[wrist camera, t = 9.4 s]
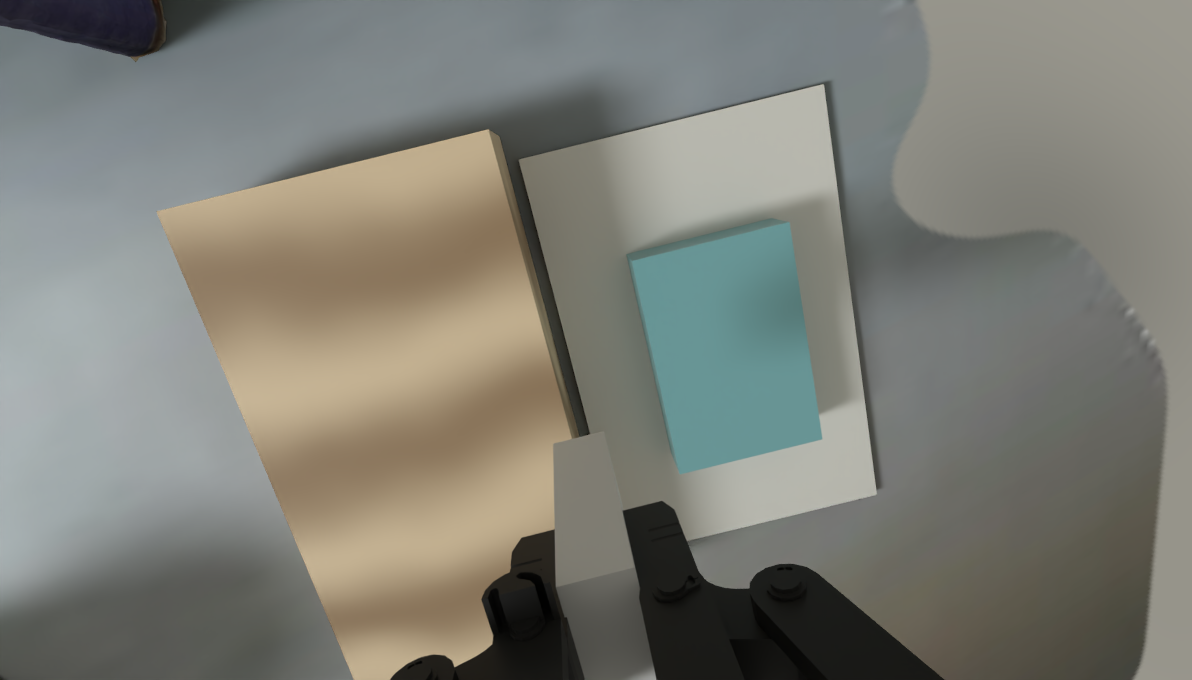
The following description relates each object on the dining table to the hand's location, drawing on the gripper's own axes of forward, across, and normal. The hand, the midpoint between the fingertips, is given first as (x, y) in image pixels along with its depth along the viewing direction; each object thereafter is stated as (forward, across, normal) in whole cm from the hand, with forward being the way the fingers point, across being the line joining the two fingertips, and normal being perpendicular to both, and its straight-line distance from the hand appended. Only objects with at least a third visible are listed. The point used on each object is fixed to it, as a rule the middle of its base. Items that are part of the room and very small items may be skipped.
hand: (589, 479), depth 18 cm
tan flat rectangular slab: (+9, +6, 0) cm, 11 cm away
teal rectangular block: (+7, -6, 0) cm, 9 cm away
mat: (+9, -6, 0) cm, 11 cm away
